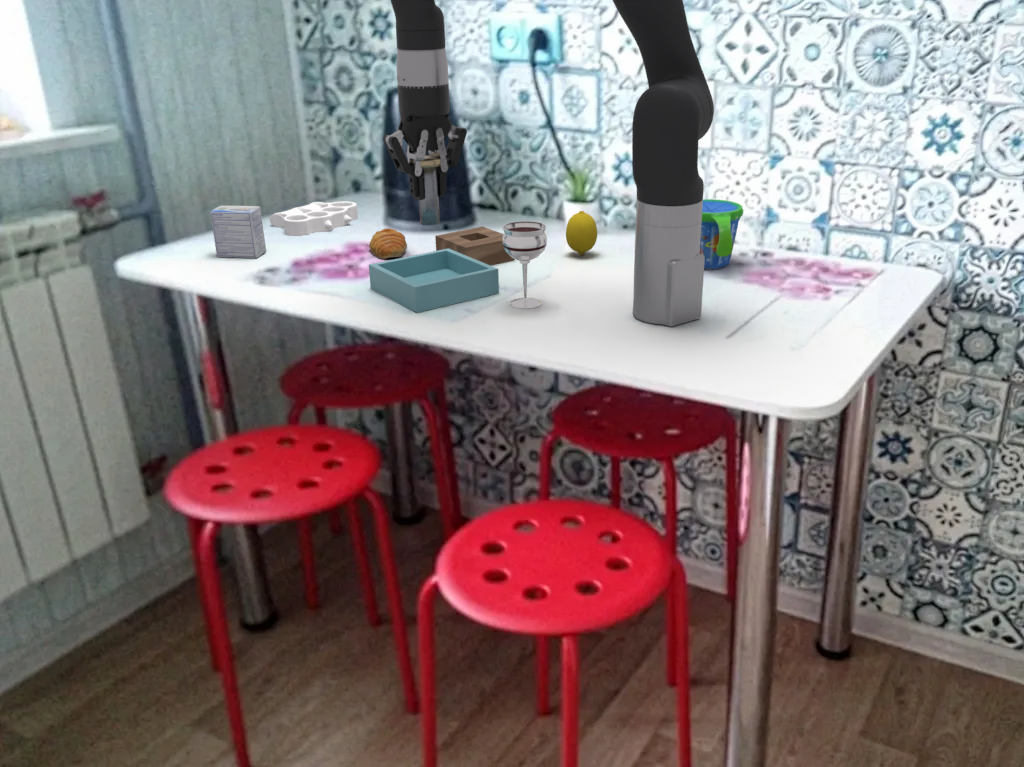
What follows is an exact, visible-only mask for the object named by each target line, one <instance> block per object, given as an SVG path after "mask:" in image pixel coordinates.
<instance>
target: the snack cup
mask: <svg viewBox="0 0 1024 767" xmlns="http://www.w3.org/2000/svg"><path fill="white" fill-rule="evenodd" d="M743 215H744V209H743V206H742V205H741V204H740V203H738V202H734V201H730V200H726V199H725V200H724V199H712V198H710V199H709V198H708V199H707V198H706V199H705V198H703V206H702V220H701V238H700V254H703V255H704V257H705V261H704V270H705V269H706V270H716V269H721V268H722V269H723V268H724V267H726V266H729V265H730V262H731V258H732V254H733V250H734V246H735V241H736V236H737V230H738V227H739V222H740V219H741V217H742V216H743Z"/></svg>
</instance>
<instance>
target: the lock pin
mask: <svg viewBox="0 0 1024 767" xmlns="http://www.w3.org/2000/svg"><path fill="white" fill-rule="evenodd" d="M412 161H413V166H414V159H412ZM420 164H421V168H422V173H421V176H423V191H424V199H423V200H418V207H419V209H418V210H419V224H420V225H422V226H435V225H439V224H440V203H439V202H440V201H439V197H438V178H437V167H438V166H441V158H440V159H439V158H437V157H434V156H430V155H425V160H424V161H421V162H420Z"/></svg>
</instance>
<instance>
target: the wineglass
mask: <svg viewBox="0 0 1024 767" xmlns="http://www.w3.org/2000/svg"><path fill="white" fill-rule="evenodd" d="M501 228H502V230H503V232H504V233H502V234H503V238H502V245H503V247H504V250H505V251H506V252H507V253H508V254H509V255H510V256H511V257H512V258H514V259H515V260H517V261H519V263H520V264H521V265H522V282H523V283H522V284H523V297H519V298H515V299H514V298H513V299H512V300H510V301H509V303H508V304H509V305H510V306H511V307H513V308H515V309H533V308H537V307H540V306H541V305H542V300H540V299H537V298H533V297H528V296H527V294H528V293H527V292H528V288H527V287H528V286H527V285H528V264H530V262H531V261H533V260H534V259H537V258H539V256H540V255H541V254H542V253H543V252H544V251H545V250H546V247H547V242H548V237H547V234H546V233H545V232H546V231H545V230H546V229H547V225H546V223H543V222H539V221H533V220H518V221H511V222H507V223H504V224H503V225H502V226H501Z"/></svg>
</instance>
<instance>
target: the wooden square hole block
mask: <svg viewBox="0 0 1024 767" xmlns="http://www.w3.org/2000/svg"><path fill="white" fill-rule="evenodd" d="M503 234H504V233H501V232H499V231H497V230H493V229H491V228H489V227H485V226H478V227H473V228H467V229H463V230H457V231H453V232H447V233H442V234H437V235H435V251H438V250H443V249H448V248H449V249H451V250H454V251H456V252H458V253H461V254H463V255H466V256H468V257H471V258H473V259H475V260H478V261H480V262H483V263H485V264H488V265H490V266H494V265H497V264H498V265H499V264H502V263H503V264H504V263H507V262H512V261H515V260H516V259H514V258H512V257H511V256H510V255H509V254H508V253H507V252H506V251H505V250H504V247H503V245H502V238H503Z"/></svg>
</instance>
